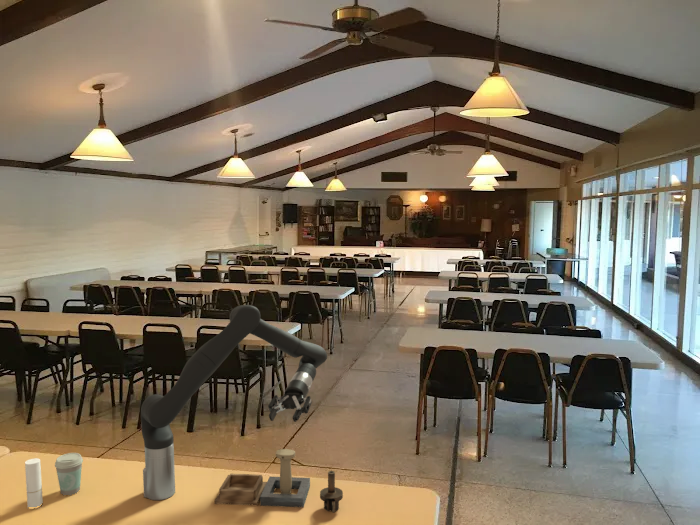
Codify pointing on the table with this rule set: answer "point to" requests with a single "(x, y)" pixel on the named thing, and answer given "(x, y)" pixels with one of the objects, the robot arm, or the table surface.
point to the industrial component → (331, 494)
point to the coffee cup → (69, 472)
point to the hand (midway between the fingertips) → (282, 419)
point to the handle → (285, 469)
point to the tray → (241, 489)
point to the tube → (33, 482)
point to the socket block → (285, 499)
